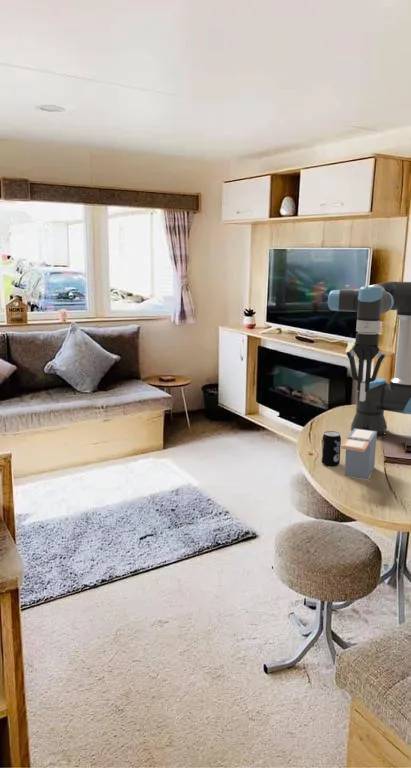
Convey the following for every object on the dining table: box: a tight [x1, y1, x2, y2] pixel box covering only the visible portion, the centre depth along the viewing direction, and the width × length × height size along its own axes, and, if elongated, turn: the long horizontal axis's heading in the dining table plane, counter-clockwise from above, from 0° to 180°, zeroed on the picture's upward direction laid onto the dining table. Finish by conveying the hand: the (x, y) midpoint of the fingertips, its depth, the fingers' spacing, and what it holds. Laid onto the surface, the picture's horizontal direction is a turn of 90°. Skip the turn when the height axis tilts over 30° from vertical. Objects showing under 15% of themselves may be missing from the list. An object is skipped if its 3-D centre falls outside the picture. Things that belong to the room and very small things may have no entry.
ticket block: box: [344, 428, 377, 481], centre depth 198 cm, size 12×8×14 cm, turn 153°
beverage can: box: [321, 430, 342, 468], centre depth 206 cm, size 7×7×12 cm
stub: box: [340, 438, 369, 452], centre depth 187 cm, size 8×8×1 cm
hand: (362, 400), depth 194 cm, fingers closed
